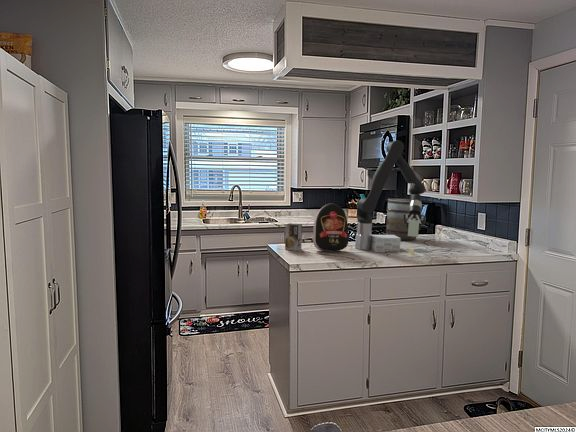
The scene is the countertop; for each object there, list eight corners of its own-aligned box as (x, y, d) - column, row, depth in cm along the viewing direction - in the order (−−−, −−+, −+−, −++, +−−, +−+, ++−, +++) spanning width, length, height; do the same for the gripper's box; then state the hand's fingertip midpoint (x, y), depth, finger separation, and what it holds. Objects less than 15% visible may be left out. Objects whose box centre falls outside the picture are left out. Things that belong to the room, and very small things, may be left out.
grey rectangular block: (417, 236, 260) (419, 219, 259) (407, 235, 262) (409, 219, 261) (418, 234, 269) (419, 218, 267) (408, 233, 270) (409, 217, 269)
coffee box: (301, 249, 272) (302, 224, 270) (297, 250, 266) (298, 225, 264) (288, 247, 276) (289, 222, 274) (284, 249, 270) (285, 224, 268)
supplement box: (392, 248, 288) (393, 234, 287) (400, 252, 275) (401, 237, 274) (368, 247, 286) (369, 234, 285) (374, 251, 273) (375, 237, 272)
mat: (418, 254, 270) (418, 253, 270) (406, 250, 281) (406, 249, 281) (433, 253, 274) (433, 252, 274) (421, 249, 285) (421, 248, 285)
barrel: (401, 235, 343) (404, 198, 340) (422, 240, 323) (425, 200, 320) (379, 236, 333) (382, 198, 330) (399, 241, 313) (402, 201, 310)
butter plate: (409, 257, 258) (409, 251, 257) (397, 253, 269) (397, 247, 268) (425, 256, 262) (425, 250, 262) (412, 252, 273) (413, 246, 273)
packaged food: (316, 254, 258) (318, 204, 255) (309, 247, 278) (311, 202, 274) (351, 254, 262) (353, 205, 258) (342, 248, 281) (344, 202, 278)
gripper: (403, 203, 272) (401, 224, 262) (427, 205, 268) (426, 226, 258) (403, 211, 278) (401, 231, 268) (426, 213, 274) (425, 233, 264)
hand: (413, 229), depth 263 cm, fingers closed on grey rectangular block, 6 cm apart
